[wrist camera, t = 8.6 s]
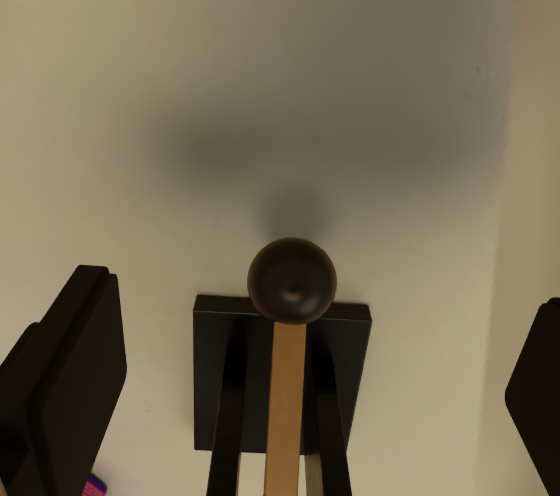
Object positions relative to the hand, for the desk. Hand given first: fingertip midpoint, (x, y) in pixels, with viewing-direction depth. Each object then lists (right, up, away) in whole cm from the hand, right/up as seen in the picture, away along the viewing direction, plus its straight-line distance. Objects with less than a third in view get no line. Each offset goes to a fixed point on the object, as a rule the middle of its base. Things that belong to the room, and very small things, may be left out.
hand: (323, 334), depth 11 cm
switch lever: (-1, -4, +8) cm, 9 cm away
